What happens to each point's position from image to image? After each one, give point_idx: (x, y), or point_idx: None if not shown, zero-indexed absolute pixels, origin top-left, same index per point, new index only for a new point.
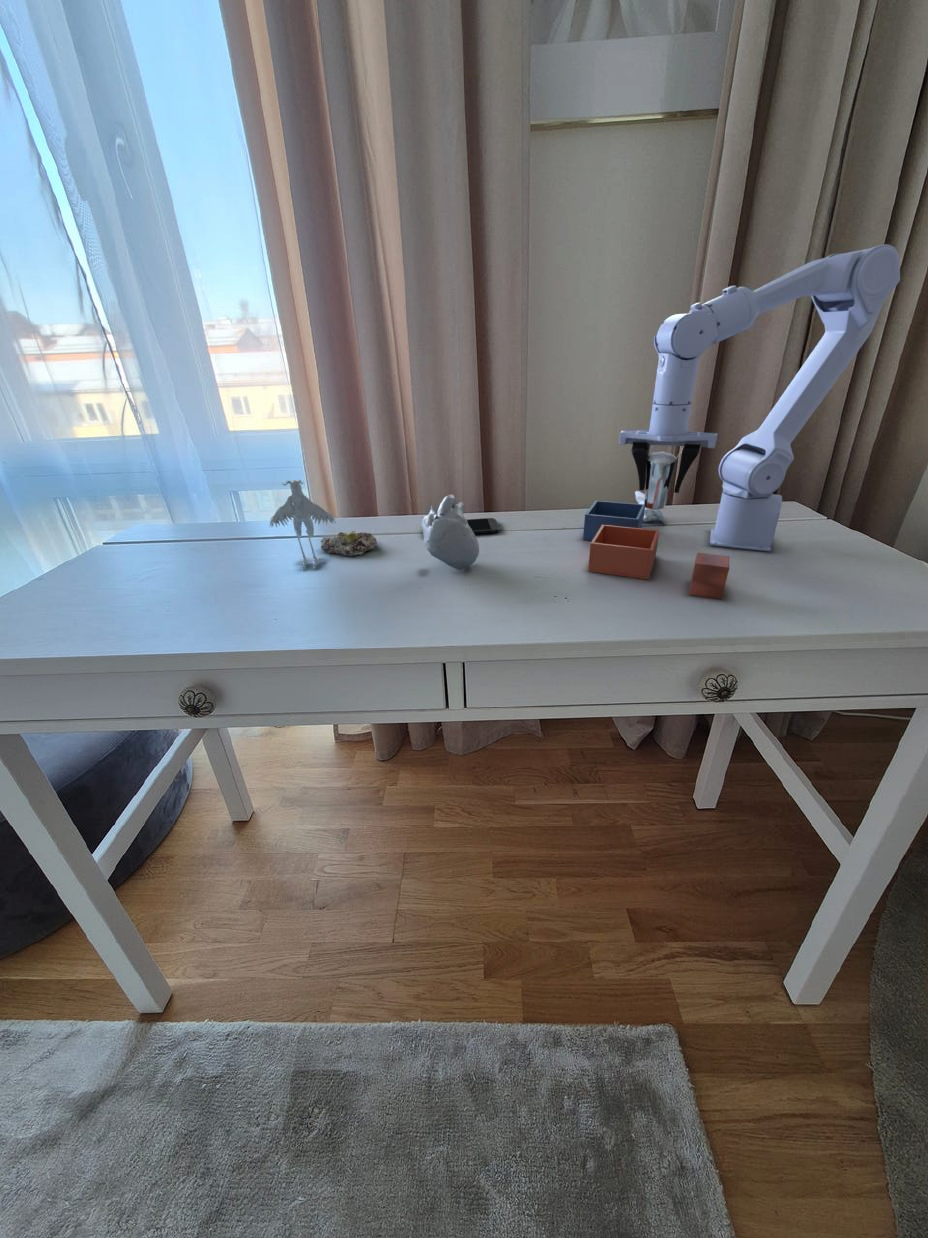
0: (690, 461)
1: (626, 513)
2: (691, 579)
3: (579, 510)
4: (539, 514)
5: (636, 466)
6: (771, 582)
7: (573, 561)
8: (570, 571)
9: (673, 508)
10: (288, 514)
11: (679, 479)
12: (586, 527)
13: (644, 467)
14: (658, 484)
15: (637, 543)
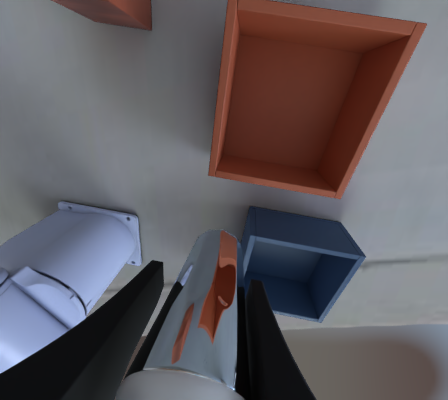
0: (29, 364)
1: None
2: (144, 2)
3: (321, 326)
4: (393, 315)
5: (300, 372)
6: (28, 73)
7: (390, 108)
8: None
9: None
10: None
11: (131, 292)
12: (347, 236)
13: (263, 361)
14: (205, 279)
15: (252, 166)
